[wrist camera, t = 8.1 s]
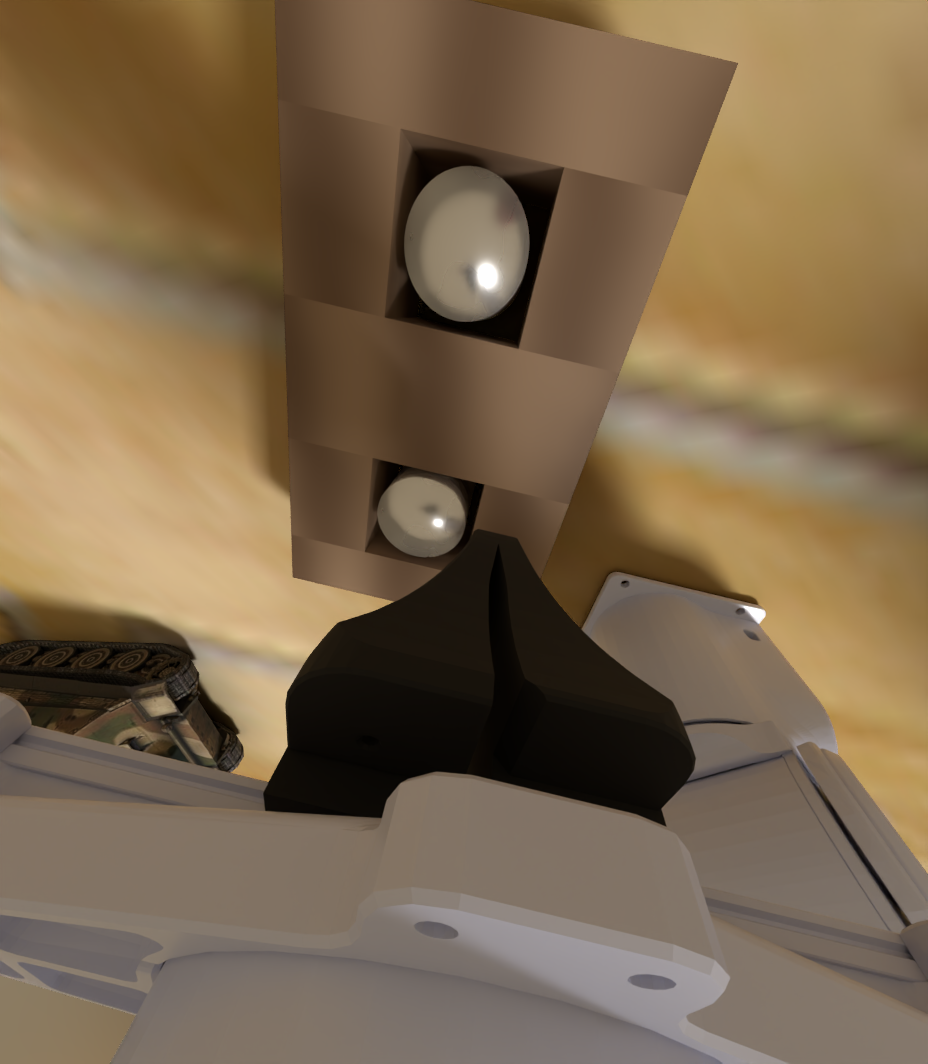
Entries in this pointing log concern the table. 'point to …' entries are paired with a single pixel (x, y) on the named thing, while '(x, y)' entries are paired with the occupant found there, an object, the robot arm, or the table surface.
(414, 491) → the peg
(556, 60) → the walnut block
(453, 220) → the peg
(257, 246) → the table surface
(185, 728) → the model tank
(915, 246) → the table surface
